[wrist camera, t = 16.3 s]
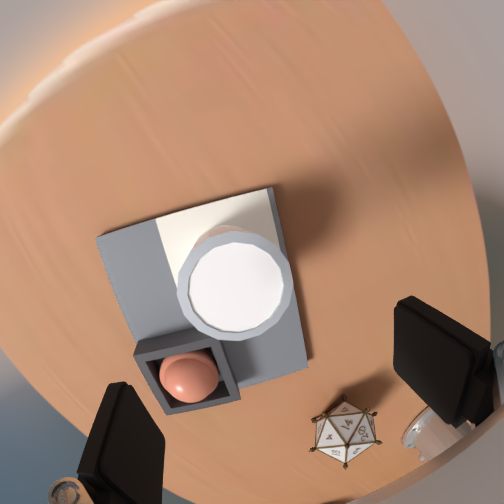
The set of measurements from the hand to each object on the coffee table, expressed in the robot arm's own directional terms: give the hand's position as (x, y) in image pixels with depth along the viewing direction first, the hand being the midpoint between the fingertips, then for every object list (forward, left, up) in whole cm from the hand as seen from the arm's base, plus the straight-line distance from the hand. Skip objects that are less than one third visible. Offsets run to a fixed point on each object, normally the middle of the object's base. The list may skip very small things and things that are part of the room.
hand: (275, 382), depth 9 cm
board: (-4, +3, -16) cm, 17 cm away
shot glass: (0, 0, -15) cm, 15 cm away
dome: (-9, +6, -15) cm, 18 cm away
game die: (-23, -7, -17) cm, 29 cm away
